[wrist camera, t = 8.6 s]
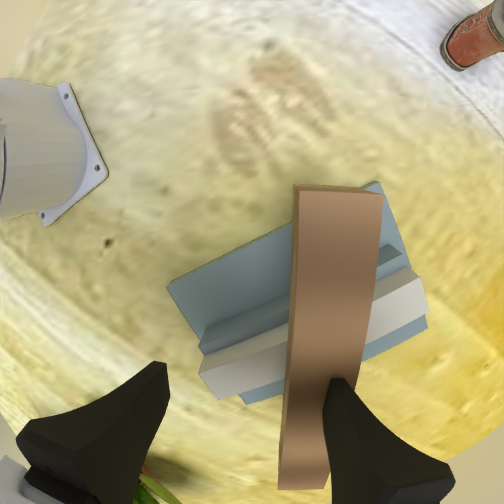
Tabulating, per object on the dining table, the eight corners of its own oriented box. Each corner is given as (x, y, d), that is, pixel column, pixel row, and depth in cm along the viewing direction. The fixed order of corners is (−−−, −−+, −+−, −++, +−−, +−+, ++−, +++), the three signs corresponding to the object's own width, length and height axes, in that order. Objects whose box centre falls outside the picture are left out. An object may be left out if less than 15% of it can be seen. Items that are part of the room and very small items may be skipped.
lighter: (460, 80, 16) (546, 50, 6) (430, 46, 15) (506, -4, 6) (497, 38, 14) (567, 8, 4) (471, 9, 13) (535, -33, 4)
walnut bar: (319, 446, 19) (323, 488, 15) (279, 447, 19) (277, 489, 15) (355, 187, 14) (383, 195, 10) (293, 184, 14) (299, 190, 10)
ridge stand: (247, 397, 24) (240, 444, 19) (170, 282, 22) (140, 316, 17) (423, 322, 21) (452, 359, 16) (374, 181, 19) (407, 186, 13)
